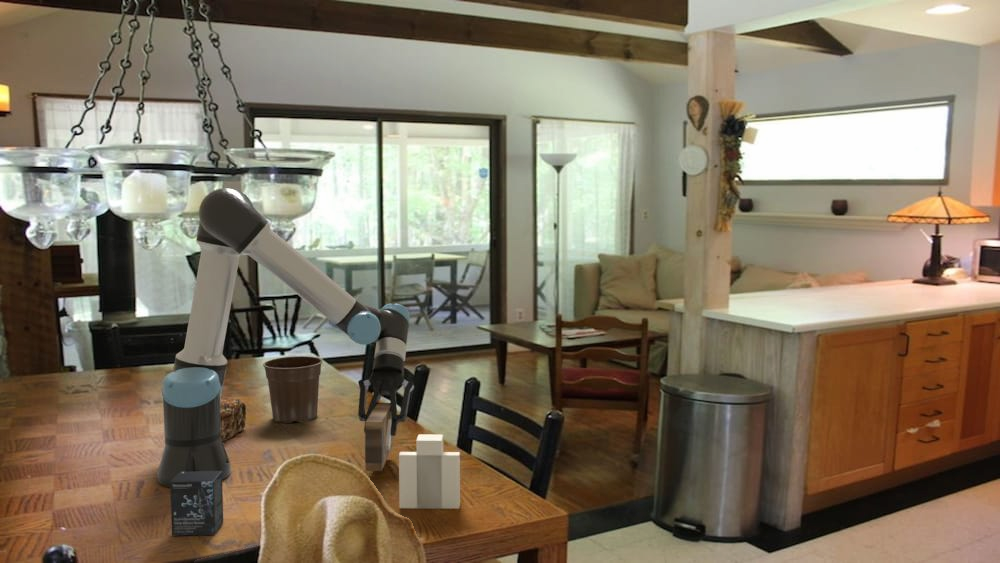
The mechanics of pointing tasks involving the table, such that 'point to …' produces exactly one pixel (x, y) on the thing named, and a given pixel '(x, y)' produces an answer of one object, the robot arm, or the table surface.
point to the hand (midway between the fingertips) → (378, 447)
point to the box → (196, 503)
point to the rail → (377, 437)
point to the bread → (231, 416)
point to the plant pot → (293, 387)
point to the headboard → (429, 475)
